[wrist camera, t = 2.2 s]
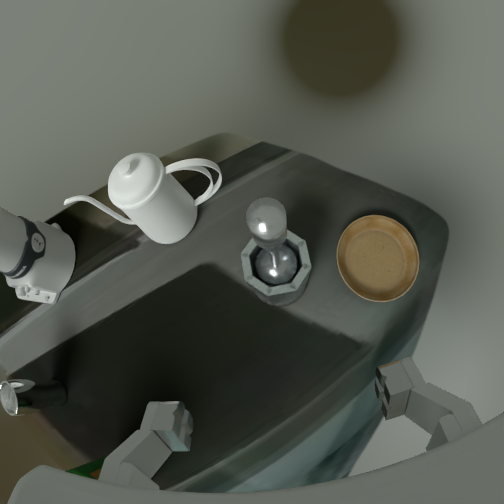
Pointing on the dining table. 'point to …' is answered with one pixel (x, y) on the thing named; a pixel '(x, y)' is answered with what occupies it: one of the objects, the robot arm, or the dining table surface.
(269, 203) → the dumbbell
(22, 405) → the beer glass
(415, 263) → the plant saucer
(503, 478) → the robot arm
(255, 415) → the dining table surface
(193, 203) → the coffeepot
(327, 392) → the dining table surface
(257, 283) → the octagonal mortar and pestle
